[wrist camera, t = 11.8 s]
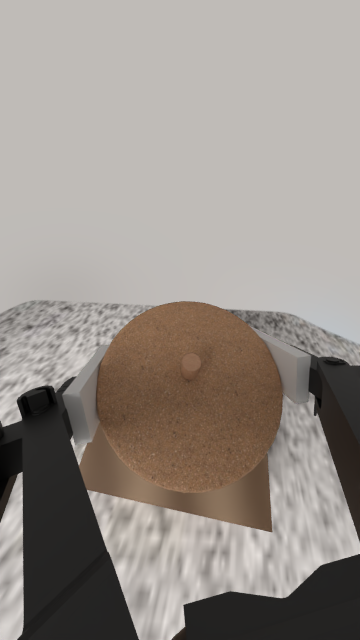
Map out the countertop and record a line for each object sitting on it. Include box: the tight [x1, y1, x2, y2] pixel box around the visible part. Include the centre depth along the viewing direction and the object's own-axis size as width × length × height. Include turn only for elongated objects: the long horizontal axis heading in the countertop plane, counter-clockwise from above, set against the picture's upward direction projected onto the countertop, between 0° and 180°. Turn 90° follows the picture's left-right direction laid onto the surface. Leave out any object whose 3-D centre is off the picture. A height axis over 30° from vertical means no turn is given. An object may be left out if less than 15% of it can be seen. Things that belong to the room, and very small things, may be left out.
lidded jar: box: [96, 301, 283, 493], centre depth 14 cm, size 11×11×9 cm
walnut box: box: [79, 422, 272, 532], centre depth 22 cm, size 16×16×6 cm
